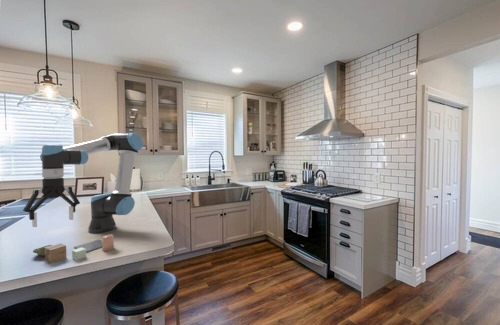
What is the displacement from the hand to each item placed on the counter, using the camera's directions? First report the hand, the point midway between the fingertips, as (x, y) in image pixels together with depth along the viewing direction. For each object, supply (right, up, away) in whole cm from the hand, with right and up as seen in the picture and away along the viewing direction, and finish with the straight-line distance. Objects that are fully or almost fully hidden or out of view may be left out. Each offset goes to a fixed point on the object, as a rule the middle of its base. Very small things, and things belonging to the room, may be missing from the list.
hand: (53, 222), depth 105 cm
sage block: (+11, -17, +1) cm, 20 cm away
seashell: (-11, -18, +7) cm, 22 cm away
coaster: (+8, -17, +15) cm, 23 cm away
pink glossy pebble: (+19, -17, +11) cm, 27 cm away
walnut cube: (+1, -17, 0) cm, 17 cm away
